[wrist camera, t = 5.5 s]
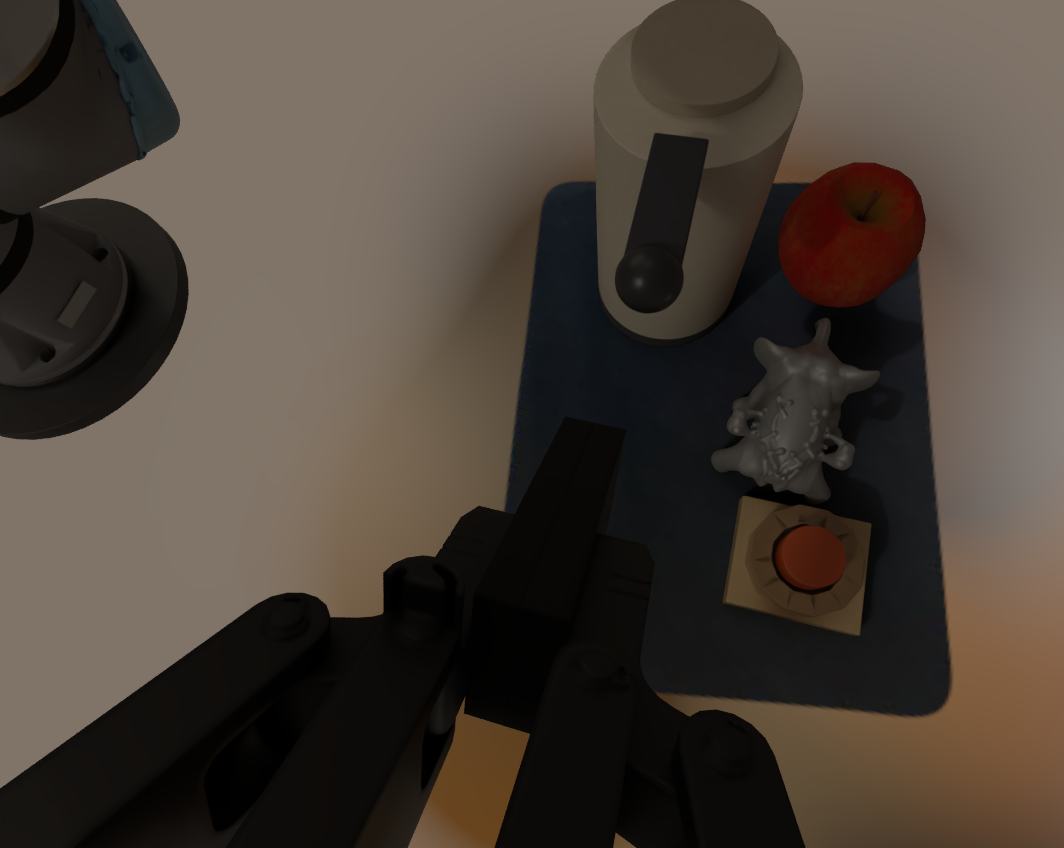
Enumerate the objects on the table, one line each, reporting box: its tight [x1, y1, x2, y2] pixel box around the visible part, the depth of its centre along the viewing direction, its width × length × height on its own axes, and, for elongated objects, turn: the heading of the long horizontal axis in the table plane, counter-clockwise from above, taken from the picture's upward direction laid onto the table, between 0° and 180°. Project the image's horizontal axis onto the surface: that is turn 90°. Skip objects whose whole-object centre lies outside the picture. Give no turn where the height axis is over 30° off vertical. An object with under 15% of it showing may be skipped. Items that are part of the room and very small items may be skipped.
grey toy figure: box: [711, 318, 880, 504], centre depth 42 cm, size 9×12×8 cm
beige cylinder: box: [594, 0, 803, 346], centre depth 40 cm, size 10×10×20 cm
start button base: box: [723, 496, 871, 636], centre depth 41 cm, size 8×7×3 cm
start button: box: [775, 525, 846, 590], centre depth 39 cm, size 4×4×2 cm
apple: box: [778, 163, 926, 308], centre depth 43 cm, size 9×8×11 cm
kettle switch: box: [615, 133, 709, 314], centre depth 27 cm, size 3×8×3 cm, turn 165°
